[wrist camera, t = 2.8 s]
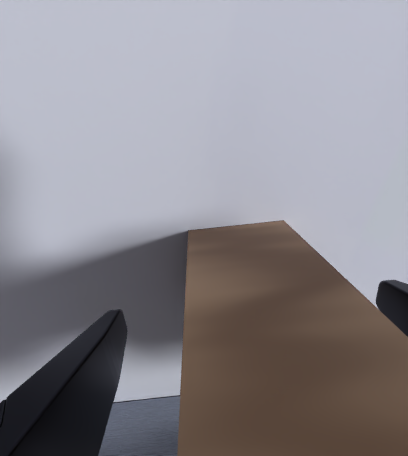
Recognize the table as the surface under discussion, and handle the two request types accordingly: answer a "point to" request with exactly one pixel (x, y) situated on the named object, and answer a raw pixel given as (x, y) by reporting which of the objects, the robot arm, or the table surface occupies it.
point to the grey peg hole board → (142, 428)
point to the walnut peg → (284, 353)
